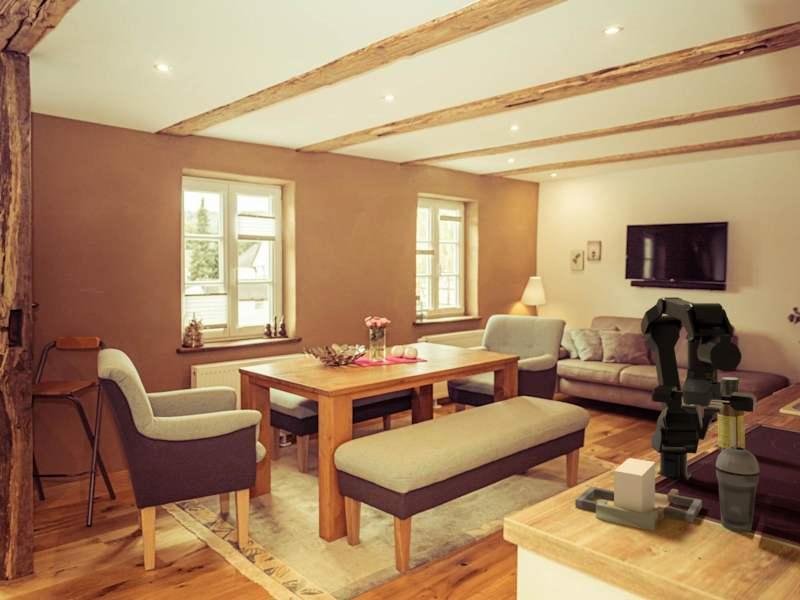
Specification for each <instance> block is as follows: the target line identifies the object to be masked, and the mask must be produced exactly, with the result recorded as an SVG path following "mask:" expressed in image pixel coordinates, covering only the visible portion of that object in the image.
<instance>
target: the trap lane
mask: <svg viewBox="0 0 800 600" xmlns="http://www.w3.org/2000/svg"><path fill="white" fill-rule="evenodd" d="M594 498H599V499H600V500H599V501H595V500H593V499H594ZM608 501H614V490H609V489H605V488H599V487H595V486H590V487H589V488H588V489H586V490H585V491H584V492H583V493H581V494H580V495H579V496H578V497H577V498H575V501H574V502H575V504H574V505H575V508H578V509H581V510H587V511H591V512H594V513H595V518H596V519H599V520H604V521H606V522H607V521H608V522H611V523H616V524H622V525H626V526H630V527H635V528H639V529H643V530H647V531H652V532H654V531H655V530H656V529H657V527H658V525H660V523H661V522H662V520H663V519H664V518H668V519H673V520H677V521H681V522H687V523H692V524H693V523H694V521H695V520H696V518H697V516H698V515H699V513H700V511H701V509H702V508H703V500H702V499H699V498H694V497H690V496H684V495H679V489H676V488H671V489H670V491H669V492H668V493H667V494H664V493H660V492H655V508H654V509H653V510H651V511H650V512H649V513H644V512H639V511H634V510H630V509H625V508H620V507H616V506H614V503H613V504H612V505H611V504H608ZM670 504H673V505H677V506H682V507H687V508H688V509H687V510H683V509H678V508H673V507H669V506H670Z"/></svg>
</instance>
